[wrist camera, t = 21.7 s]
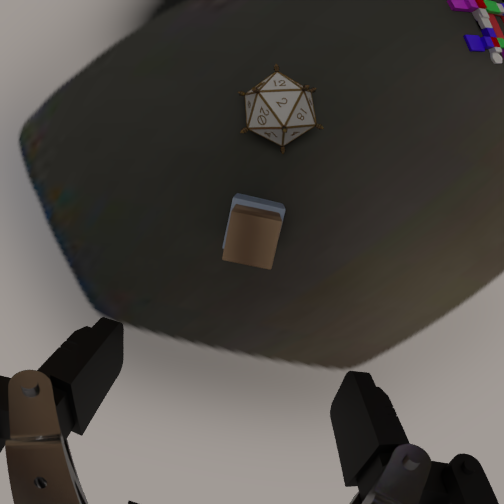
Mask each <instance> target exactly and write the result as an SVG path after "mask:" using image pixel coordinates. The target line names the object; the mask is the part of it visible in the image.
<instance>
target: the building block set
mask: <svg viewBox="0 0 504 504" xmlns="http://www.w3.org/2000/svg"><path fill="white" fill-rule="evenodd" d="M447 2H448V4H449V6H450V8H451V10H453V11H464V12H472V14H473V16H474V18H475V20H476V21H478V23H479V25H480V27H481V29H483V30H481V32H482V34H483V36H484V37H481V38H480V37H479V36H478V35H464V36H463V37H464V39H465V41H466V43H467V46H468V48H469V51H481V52H483V51H485V49H488V50H489V52H490V58H491V60H492V62H493V63H494V64H501V63H502V57H501V56H500V55H499V54H498V53H500V52H501V53H502V55H503V58H504V36H503V33H502V31H501V29H500V27H499V25H498V23H497V20H496V18H495V16H501V19H502V21H503V23H504V4H503V3H500V4H498V3H496V2H493V1H488V0H448V1H447ZM494 15H495V16H494Z"/></svg>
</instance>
